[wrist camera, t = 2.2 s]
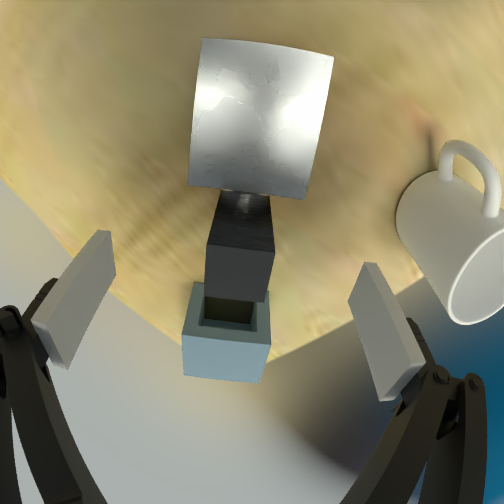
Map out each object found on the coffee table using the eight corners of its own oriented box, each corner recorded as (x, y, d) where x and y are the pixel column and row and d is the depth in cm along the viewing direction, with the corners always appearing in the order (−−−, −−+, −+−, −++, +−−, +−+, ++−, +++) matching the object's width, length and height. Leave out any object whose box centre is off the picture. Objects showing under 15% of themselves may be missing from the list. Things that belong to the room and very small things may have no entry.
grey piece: (240, 50, 16) (228, 24, 8) (289, 57, 16) (320, 39, 8) (217, 245, 24) (200, 334, 16) (256, 250, 24) (256, 340, 16)
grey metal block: (218, 49, 16) (202, 37, 11) (311, 63, 17) (334, 57, 12) (205, 155, 21) (187, 185, 15) (291, 166, 21) (304, 200, 16)
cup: (393, 258, 26) (438, 338, 17) (384, 132, 19) (463, 178, 11) (461, 239, 24) (516, 305, 16) (465, 122, 18) (550, 162, 10)
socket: (194, 282, 27) (181, 334, 22) (268, 291, 28) (271, 344, 22) (193, 324, 31) (183, 375, 25) (258, 332, 31) (259, 383, 26)
